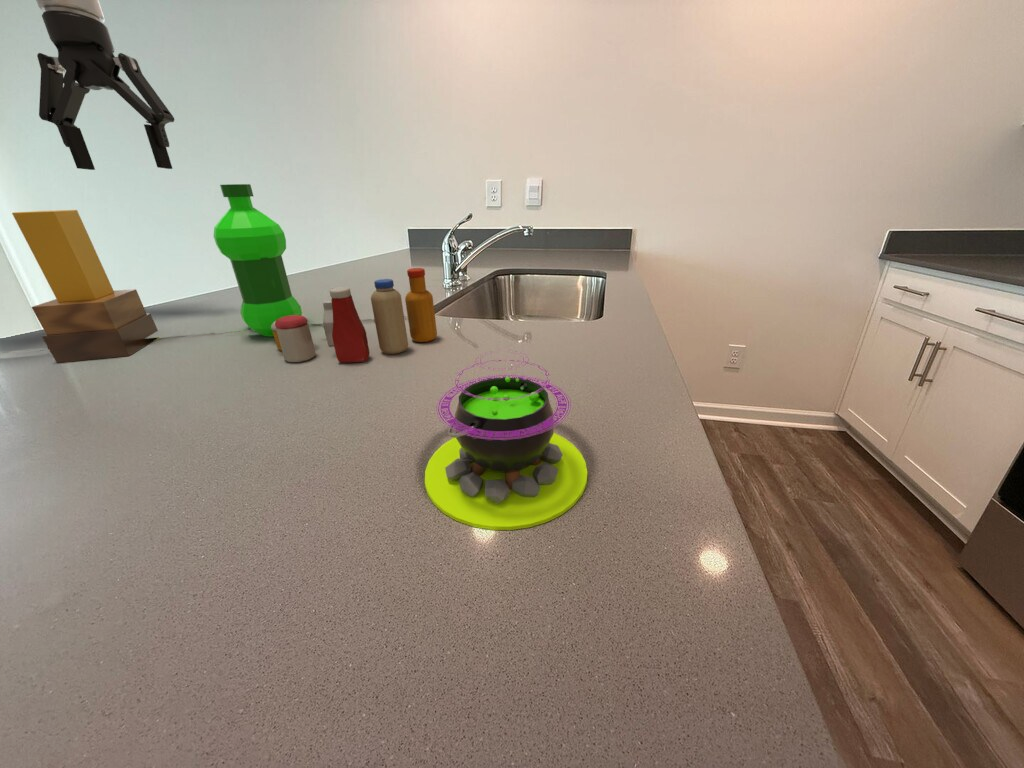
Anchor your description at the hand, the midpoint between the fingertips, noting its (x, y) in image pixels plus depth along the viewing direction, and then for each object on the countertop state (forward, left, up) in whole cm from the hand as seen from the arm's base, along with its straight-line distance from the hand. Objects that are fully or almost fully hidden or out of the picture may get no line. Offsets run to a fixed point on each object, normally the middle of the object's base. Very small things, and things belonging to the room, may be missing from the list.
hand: (125, 168), depth 73 cm
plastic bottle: (+21, -15, -28) cm, 39 cm away
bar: (-5, -16, -19) cm, 25 cm away
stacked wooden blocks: (-5, -16, -28) cm, 33 cm away
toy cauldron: (+53, -67, -28) cm, 90 cm away
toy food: (+36, -29, -28) cm, 55 cm away
